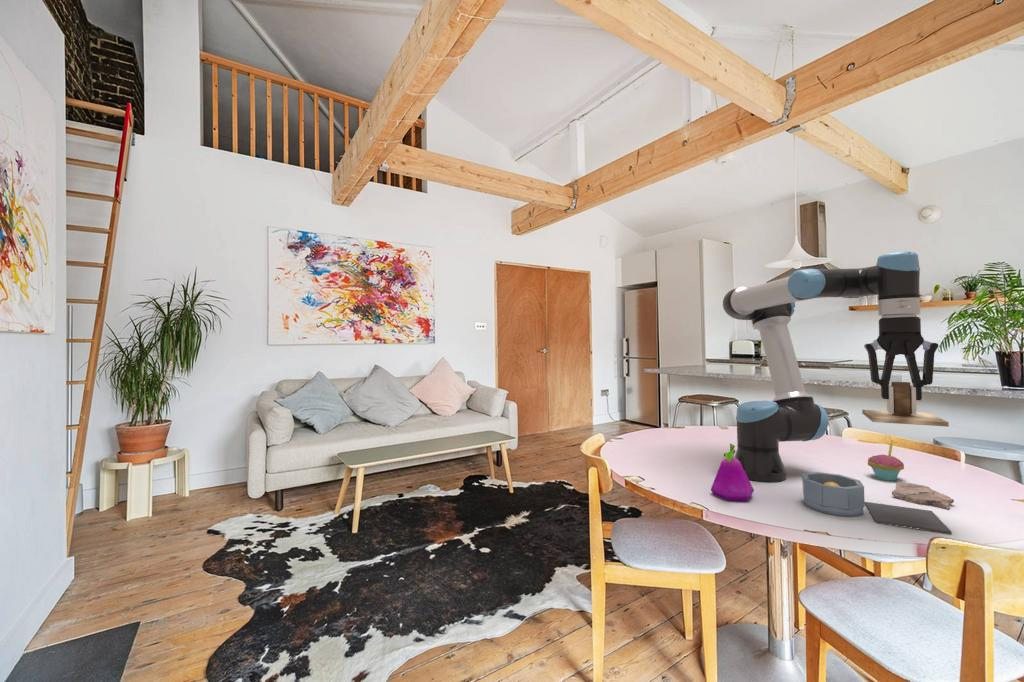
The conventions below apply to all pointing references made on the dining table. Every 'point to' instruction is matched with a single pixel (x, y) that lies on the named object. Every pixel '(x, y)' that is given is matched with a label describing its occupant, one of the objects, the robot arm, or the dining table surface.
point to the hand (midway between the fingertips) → (901, 412)
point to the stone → (921, 495)
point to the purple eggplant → (732, 480)
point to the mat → (906, 517)
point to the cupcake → (886, 465)
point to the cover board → (905, 419)
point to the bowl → (833, 494)
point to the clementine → (831, 483)
